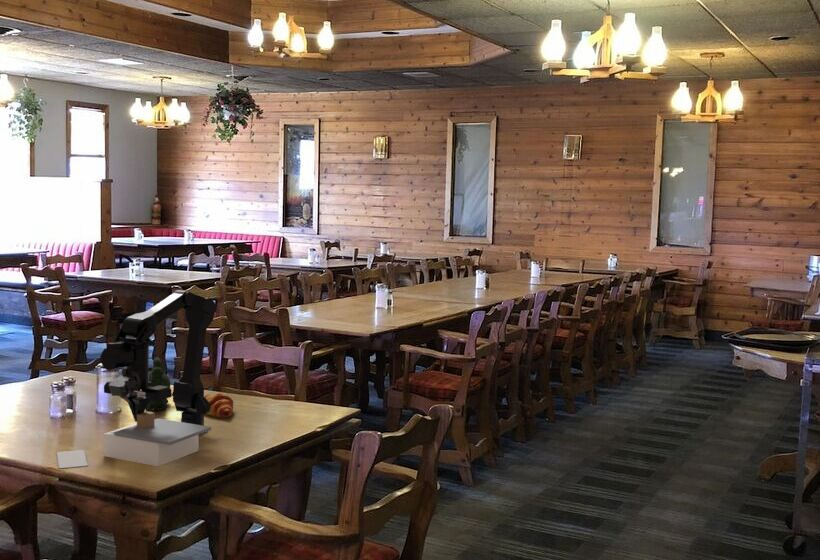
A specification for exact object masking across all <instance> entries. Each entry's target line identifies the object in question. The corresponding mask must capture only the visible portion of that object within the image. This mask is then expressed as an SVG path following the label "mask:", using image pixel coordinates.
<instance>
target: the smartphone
mask: <svg viewBox="0 0 820 560" xmlns="http://www.w3.org/2000/svg"><path fill="white" fill-rule="evenodd" d="M55 455H56V460H57V466H58V467H57V468H58V469H59V470H64V469H74V468H75V469H77V468H84V467H85V468H86V467H89V463H88V459H87V455H86V452H85V449H76V450H65V451H64V450H60V451H57V452H56V453H55Z"/></svg>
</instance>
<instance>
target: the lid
mask: <svg viewBox="0 0 820 560" xmlns="http://www.w3.org/2000/svg"><path fill="white" fill-rule="evenodd" d="M136 423H137V425H135V426H132V427H129V428H126V429H123V430H120V431H117V432H114V435H115V436H121V437H127V438H132V439H138V440H143V441H149V442H155V443H160V444H166V445H171V444H174V443H177V442H180V441H182V440H185V439H188V438H191V437H193V436H196V435H202V434H203V433H207V432H209V431H212V426H209V425H208V426H207V425H204V426H202V425H196V424H190V423H184V422H181V421H177V420H171V419H164V418H155V412H154V411H153V412H152V411H144V413H141V414H137V422H136Z"/></svg>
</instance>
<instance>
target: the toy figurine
mask: <svg viewBox="0 0 820 560" xmlns="http://www.w3.org/2000/svg"><path fill="white" fill-rule="evenodd" d="M152 366H153V367H154V368H152V371H149V382H152V386H149V388H151V387H155V386H159V385H160V386H167V387H170V388H171V379H170V377H169V375H167V373H165V372H164V370H163V368H162V367H161V366H162V360H161V358H160V357H157V356H156V357H154V358H153V361H152ZM168 403H169V400H168V398H166V399H163V400H159V401H153V400H151V401H150V402H149V404H148V406H147V407H146V409H145V411H146V412H152V411H153V410H161V411H166V410H167V409H168Z"/></svg>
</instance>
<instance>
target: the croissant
mask: <svg viewBox="0 0 820 560" xmlns="http://www.w3.org/2000/svg"><path fill="white" fill-rule="evenodd" d="M204 397H205V398H206V399H207V401H208V402H209V403H210V404H211V406H210V411H209V412H207V413H206V414H205V415H206V416H213V417H217V418H222V419H223V418H227V417H230V416H232V414H233V411H234V400H233V399H232V397H230V396H229V395H228V394H225V393H222V392H219V393H217V392H216V393H212V394H206V395H204Z"/></svg>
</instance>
